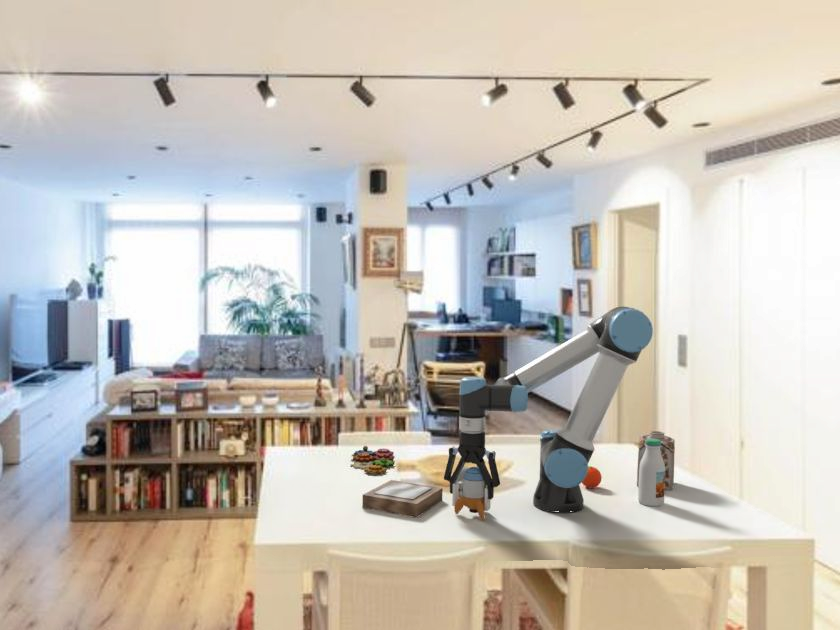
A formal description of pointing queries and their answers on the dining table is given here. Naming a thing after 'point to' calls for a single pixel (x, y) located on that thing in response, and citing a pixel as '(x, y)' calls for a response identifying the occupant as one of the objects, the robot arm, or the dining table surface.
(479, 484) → the toy rocket
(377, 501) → the plinth
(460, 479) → the round bodied animal figurine
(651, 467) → the milk bottle
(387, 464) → the gear puzzle
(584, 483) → the clementine
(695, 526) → the dining table surface
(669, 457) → the decorative jar
